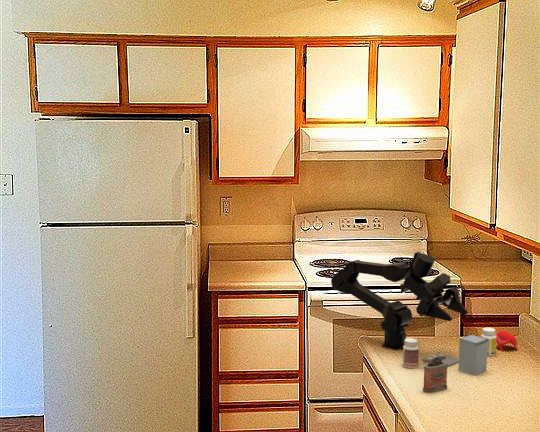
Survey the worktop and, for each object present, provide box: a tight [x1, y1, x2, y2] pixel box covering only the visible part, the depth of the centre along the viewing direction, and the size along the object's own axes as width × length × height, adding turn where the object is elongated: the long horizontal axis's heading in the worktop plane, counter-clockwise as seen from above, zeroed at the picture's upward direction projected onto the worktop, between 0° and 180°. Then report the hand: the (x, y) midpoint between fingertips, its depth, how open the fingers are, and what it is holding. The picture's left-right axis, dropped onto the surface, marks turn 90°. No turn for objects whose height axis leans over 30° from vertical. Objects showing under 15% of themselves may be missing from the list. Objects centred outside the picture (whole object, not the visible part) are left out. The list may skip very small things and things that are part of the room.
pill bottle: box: [402, 337, 420, 369], centre depth 219 cm, size 5×5×8 cm
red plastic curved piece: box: [495, 330, 518, 351], centre depth 235 cm, size 8×6×6 cm
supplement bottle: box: [480, 327, 497, 357], centre depth 230 cm, size 5×5×8 cm
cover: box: [457, 334, 488, 376], centre depth 215 cm, size 6×6×10 cm
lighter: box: [422, 353, 448, 394], centre depth 201 cm, size 8×3×10 cm, turn 117°
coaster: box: [421, 352, 459, 368], centre depth 224 cm, size 9×9×1 cm
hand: (459, 316), depth 219 cm, fingers open, 9 cm apart
